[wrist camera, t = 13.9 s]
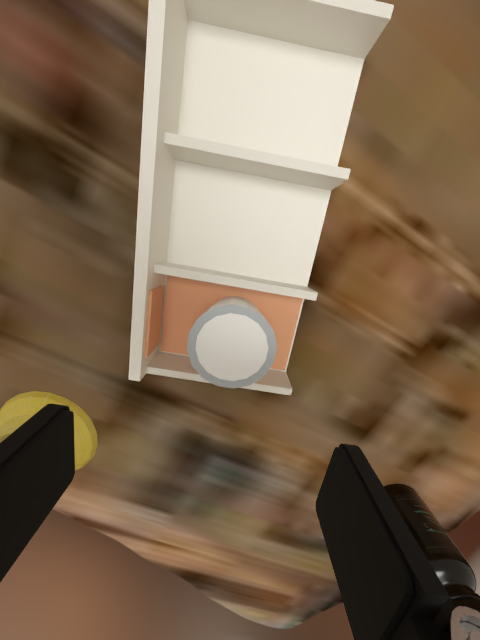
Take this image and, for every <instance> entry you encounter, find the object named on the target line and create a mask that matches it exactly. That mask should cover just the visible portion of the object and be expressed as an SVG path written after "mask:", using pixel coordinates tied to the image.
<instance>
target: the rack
mask: <svg viewBox="0 0 480 640" xmlns="http://www.w3.org/2000/svg"><path fill="white" fill-rule="evenodd" d="M393 8H394V5H391V4H387V3H383V2H378V1H374V0H149V8H148V26H147V45H146V63H145V82H144V101H143V119H142V138H141V157H140V175H139V194H138V213H137V231H136V250H135V268H134V287H133V306H132V324H131V343H130V362H129V380H134V381H141V379H142V378H143V377H144V375H145V374H146V373H148V374H155V375H161V376H168V377H174V378H181V379H187V380H194V381H200V382H207V383H210V382H209V381H207V380H205V379H203V378H202V377H201V376H200V375H199V374H198V372H197V371H196V370H195V369H194V368H193V366H192V365H191V362H190V359H189V355H188V352H187V343H188V335H189V332H190V330H191V329H192V327H193V325H194V324H195V322H196V320H197V319H198V318H199V317H200V316H201V315H202V314H203V313H204V312H205V311H207V310H208V309H209V308H210V307H211V306H212V305H213V304H214V303H216V302H217V301H219V300H220V299H222V298H224V297H229V296H239V297H244V298H246V299H248V300H249V301H251V302H252V303H254V305H255V306H256V307H257V308H258V310H259V311H260V312H261V314H262V315H263V316H264V317H265V319H266V320H267V322H268V323H269V325H270V326H271V328H272V329H273V330H274V333H275V339H276V344H277V351H276V355H275V359H274V364H273V365H272V366H271V368H270V369H269V370H268V372H267V373H266V374H265V376H264V377H262V378H261V379H259V380H258V381H256V382H254V383H253V384H251V385H249V386H244V387H239V388H245V389H252V390H258V391H265V392H271V393H278V394H284V395H291V393H292V387H291V384H290V381H289V379H288V376H287V373H286V369H287V365H288V361H289V357H290V354H291V350H292V346H293V342H294V338H295V334H296V330H297V326H298V322H299V318H300V314H301V310H302V306H303V302H304V299H308V300H314V301H316V298H317V295H318V293H317V292H315V291H314V290H312V289H310V288H308V287H307V286H308V282H309V278H310V274H311V270H312V266H313V262H314V258H315V254H316V250H317V246H318V242H319V238H320V234H321V230H322V226H323V222H324V218H325V214H326V210H327V206H328V202H329V198H330V194H331V190H333V189H334V188H336V187H337V186H339V185H340V184H342V183H344V182H345V181H347V180H348V178H349V174H350V170H351V169H346V168H341V167H337V166H338V162H339V158H340V154H341V150H342V146H343V142H344V138H345V134H346V130H347V126H348V122H349V118H350V114H351V110H352V106H353V102H354V98H355V94H356V90H357V86H358V82H359V78H360V74H361V70H362V66H363V62H364V59H365V57H366V56H367V54H368V53H369V51H370V50H371V48H372V47H373V45H374V44H375V42H376V40H377V39H378V37H379V36H380V34H381V33H382V31H383V30H384V28H385V27H386V25H387V24H388V22H389V21H390V19H391V15H392V11H393Z"/></svg>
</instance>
